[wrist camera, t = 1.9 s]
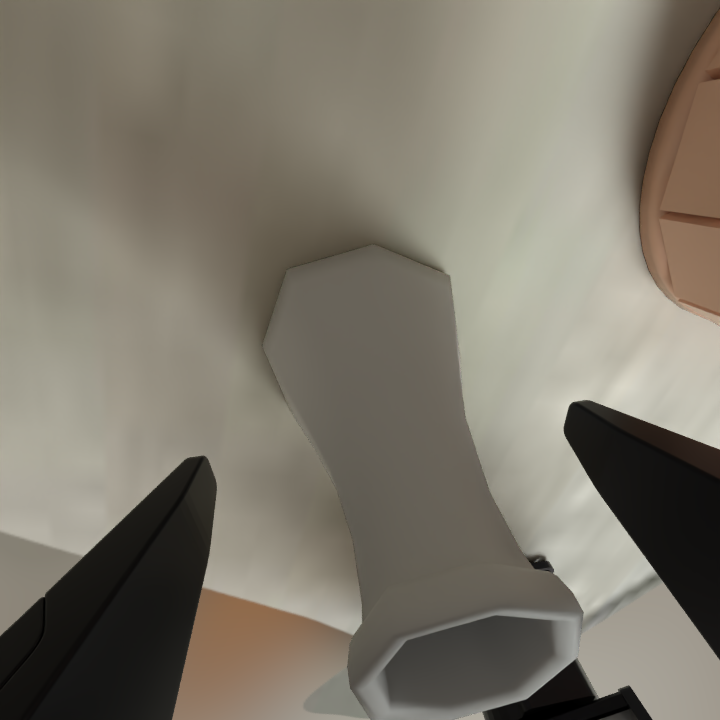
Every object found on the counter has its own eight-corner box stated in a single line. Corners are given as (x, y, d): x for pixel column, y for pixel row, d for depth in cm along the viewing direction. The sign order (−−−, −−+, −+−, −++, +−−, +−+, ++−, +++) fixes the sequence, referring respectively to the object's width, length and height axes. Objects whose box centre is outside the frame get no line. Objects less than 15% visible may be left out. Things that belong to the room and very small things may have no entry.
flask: (257, 236, 11) (94, 496, 3) (477, 248, 12) (891, 456, 4) (267, 423, 15) (213, 809, 6) (439, 419, 16) (606, 740, 7)
